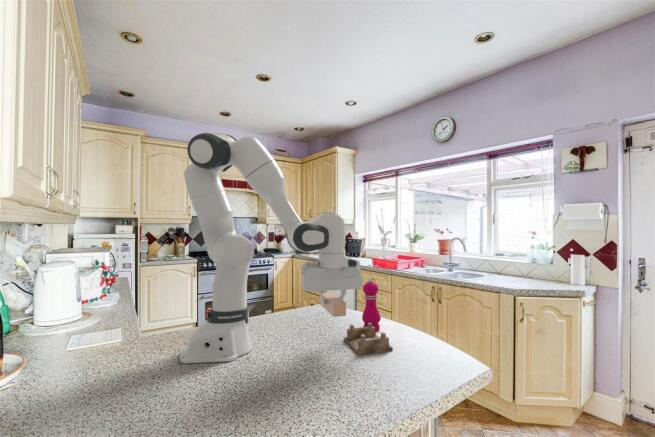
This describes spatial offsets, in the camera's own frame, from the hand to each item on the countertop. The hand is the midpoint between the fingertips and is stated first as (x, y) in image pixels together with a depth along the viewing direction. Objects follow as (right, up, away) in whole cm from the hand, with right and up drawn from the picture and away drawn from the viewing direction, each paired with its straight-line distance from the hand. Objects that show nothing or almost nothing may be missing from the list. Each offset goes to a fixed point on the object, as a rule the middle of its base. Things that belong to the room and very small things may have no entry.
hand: (332, 303), depth 104 cm
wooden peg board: (+12, -15, +4) cm, 20 cm away
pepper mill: (+16, -16, +20) cm, 30 cm away
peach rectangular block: (0, -2, 0) cm, 2 cm away
